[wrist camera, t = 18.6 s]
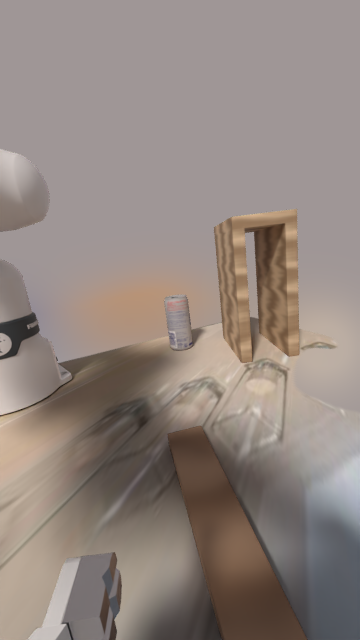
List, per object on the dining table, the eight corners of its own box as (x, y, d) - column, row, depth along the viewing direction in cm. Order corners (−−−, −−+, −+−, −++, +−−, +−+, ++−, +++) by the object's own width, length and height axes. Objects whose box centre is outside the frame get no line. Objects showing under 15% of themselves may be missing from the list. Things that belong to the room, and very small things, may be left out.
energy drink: (189, 341, 66) (183, 293, 63) (196, 347, 61) (190, 296, 58) (168, 345, 65) (161, 297, 62) (173, 352, 60) (166, 300, 57)
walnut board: (329, 711, 12) (329, 684, 12) (251, 751, 12) (248, 724, 11) (202, 440, 32) (200, 425, 31) (169, 448, 31) (167, 433, 30)
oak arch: (299, 354, 50) (296, 208, 44) (241, 362, 50) (231, 216, 44) (267, 331, 66) (262, 221, 60) (223, 337, 66) (214, 227, 59)
